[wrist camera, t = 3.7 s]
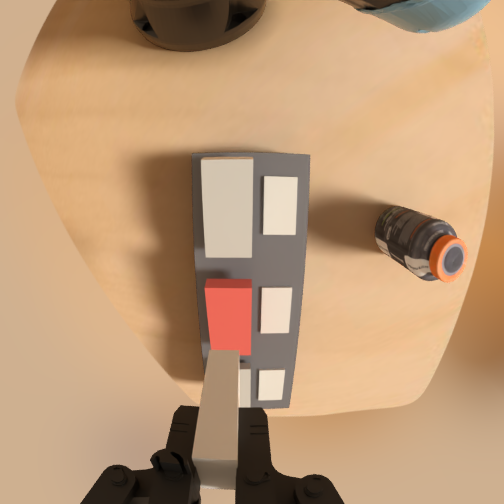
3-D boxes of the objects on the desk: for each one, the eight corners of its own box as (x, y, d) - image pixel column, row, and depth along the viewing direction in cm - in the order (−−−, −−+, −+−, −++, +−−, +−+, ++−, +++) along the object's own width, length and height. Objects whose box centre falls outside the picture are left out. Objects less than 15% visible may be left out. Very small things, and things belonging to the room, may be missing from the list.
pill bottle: (376, 260, 31) (428, 303, 20) (369, 212, 29) (426, 237, 19) (417, 247, 31) (474, 281, 20) (411, 200, 29) (475, 220, 18)
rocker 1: (203, 157, 21) (200, 160, 20) (253, 156, 21) (253, 159, 20) (207, 249, 24) (205, 257, 23) (251, 250, 25) (251, 257, 23)
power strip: (201, 155, 27) (189, 153, 22) (299, 156, 28) (312, 154, 22) (212, 382, 36) (208, 413, 30) (284, 382, 36) (289, 412, 30)
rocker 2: (214, 362, 28) (213, 368, 27) (250, 362, 28) (250, 369, 27) (217, 417, 29) (217, 424, 28) (250, 417, 29) (250, 425, 28)
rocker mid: (206, 278, 24) (204, 287, 23) (251, 278, 24) (252, 288, 23) (212, 344, 27) (211, 354, 26) (250, 345, 28) (250, 355, 26)
